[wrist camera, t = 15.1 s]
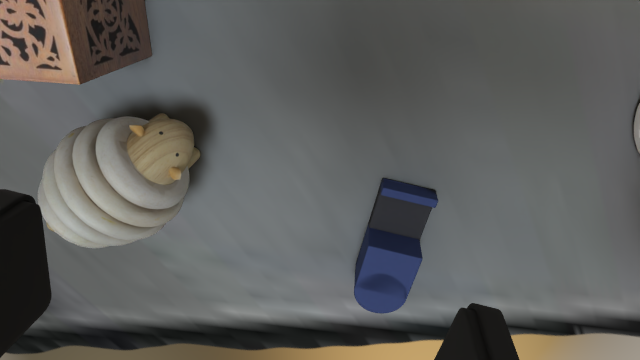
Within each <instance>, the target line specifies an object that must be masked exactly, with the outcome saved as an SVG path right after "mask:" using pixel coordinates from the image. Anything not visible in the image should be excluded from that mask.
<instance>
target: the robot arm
mask: <svg viewBox="0 0 640 360" xmlns="http://www.w3.org/2000/svg"><path fill="white" fill-rule="evenodd" d="M634 139H635V143H636V147H637V150H638V152H639V153H640V103H639V105H638V108H637V111H636V116H635V121H634ZM50 301H51V287H50V279H49V271H48V263H47V255H46V246H45V238H44V230H43V222H42V214H41V208H40V206H39V205H37V204H36V203H35V200H34V198H33V197H32V196H30V195H26V194H22V193H18V192H14V191H10V190H6V189H0V357H1V356H2V355H3V354H4V353H5V352H6V351H7V350H8V349H9V348H10V347H11V346H12V345H13V344H14V343H15V342H16V341H17V340H18V339H19V338H20V337H21V336H22V335H23V334H24V332H25V331H26V330H27V329H28V328H29V327H30V326H31V325H32V324H33V323H34V322H35V321H36V320H37V319H38V318H39V317H40V316H41V315H42V314H43V313H44V311H45V310H46V309H47V307H48V306H49V303H50ZM434 360H519V357H518V355H517V352H516V349H515V346H514V344H513V341H512V339H511V336H510V333H509V330H508V327H507V325H506V322H505V319H504V317H503V314H502V312H501V311H500V310H499V309H495V308H491V307H487V306H483V305H479V304H475V303H471V304H470V305H469V306H468V308H467V309H466V308H460V309H459V311H458V313H457V315H456V317H455V319H454V321H453V323H452V325H451V327H450V329H449V331H448V333H447V335H446V337H445V339H444V341H443V343H442V346H441V347H440V349H439V351H438V353H437V355H436V357H435V359H434Z"/></svg>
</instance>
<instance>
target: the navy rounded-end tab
mask: <svg viewBox="0 0 640 360" xmlns="http://www.w3.org/2000/svg"><path fill="white" fill-rule="evenodd" d="M437 203H438V199H437V195H436V191H435V190H432V189H427V188H423V187H419V186H415V185H411V184H407V183H402V182H398V181H394V180H390V179H386V178H383V179H382V182H381V185H380V188H379V191H378V195H377V198H376V201H375V204H374V207H373V211H372V214H371V217H370V220H369V223H368V227H367V230H366V233H365V236H364V239H363V243H362V246H361V249H360V252H359V255H358V259H357V262H356V271H355V286H354V295H355V298H356V300H357V302H358V303H359V304H360V305H361V306H362V307H363V308H364V309H366V310H368V311H371V312H374V313H389V312H393V311H395V310H397V309H399V308H400V307H401V306H402V305H403V304H404V303H405V301H406V299H407V296H408V294H409V291H410V289H411V286H412V284H413V281H414V279H415V276H416V274H417V271H418V269H419V266H420V264H421V262H422V253H421V247H420V241H419V240H420V237H421V235H422V232H423V229H424V227H425V224H426V222H427V219H428V217H429V214H430V211H431V209H432V207H433V208H435V207H436V205H437Z"/></svg>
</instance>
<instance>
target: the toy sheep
mask: <svg viewBox="0 0 640 360" xmlns="http://www.w3.org/2000/svg"><path fill="white" fill-rule="evenodd" d="M199 158H200V152H199V150H198V149H197V148H194V136H193V133H192V130H191V129H190V128H189V127H188V126H187V125H186V124H185V123H183V122H181V121H179V120H175V119H169V117H168V116H167V115H166V114H164V113H160V114H158V115H156V116H155V117H153V118H152V119H151V120H149V121H147V120H144V119H141V118H137V117H130V116H125V117H118V118H115V119H113V118H108V119H101V120H97V121H94V122H92V123H91V124H89V125H88V126H83V127H80V128H77V129H75V130H73V131H71V132H70V133H69V134H67V135H66V136H65V137H64V138H63V139H62V141H61V142H60V144H59V145H58V147H57V149H56V150H55V151H54V152H53V153H52V154H51V155H50V157H49V158H48V160H47V162H46V164H45V167H44V172H43V178H42V180H41V182H40V185H39V189H38V203H39V206H40V208H41V213H42V215H43V217H44V219H45V220H46V222H47V227H48V228H49V229H50V230H51V231H54V232H56V233H57V234H58V235H60V236H61V237H62V238H64V239H65V240H67V241H69V242H71V243H73V244H76V245H78V246H82V247H88V248H102V247H107V246H119V245H125V244H129V243H132V242H134V241H136V240H139V239H144V238H147V237H149V236H152V235H154V234H155V233H157V232H158V231H159V230H161V229H162V228H163V226H164V225H165V224H166V223H167V222H168V221H170V220H171V219H172V218H174V217H175V216H176V215H177V213H178V212H179V210H180V209H181V206H182V203H183V200H184V196H185V194H186V193H187V190H188V187H189V170H188V169H189V168H190V167H191V166H192V165H193V164H194V163H195V162H196V161H197V160H198V159H199Z"/></svg>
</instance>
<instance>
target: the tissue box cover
mask: <svg viewBox="0 0 640 360" xmlns="http://www.w3.org/2000/svg"><path fill="white" fill-rule="evenodd" d="M151 56H152V52H151V45H150V38H149V30H148V23H147V16H146V9H145V2H144V0H0V79H9V80H23V81H37V82H52V83H66V84H82V83H85V82H87V81H90V80H93V79H95V78H98V77H100V76H103V75H105V74H108V73H110V72H113V71H115V70H118V69H120V68H123V67H125V66H128V65H130V64H133V63H136V62H138V61H141V60H143V59H146V58H148V57H151Z"/></svg>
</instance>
